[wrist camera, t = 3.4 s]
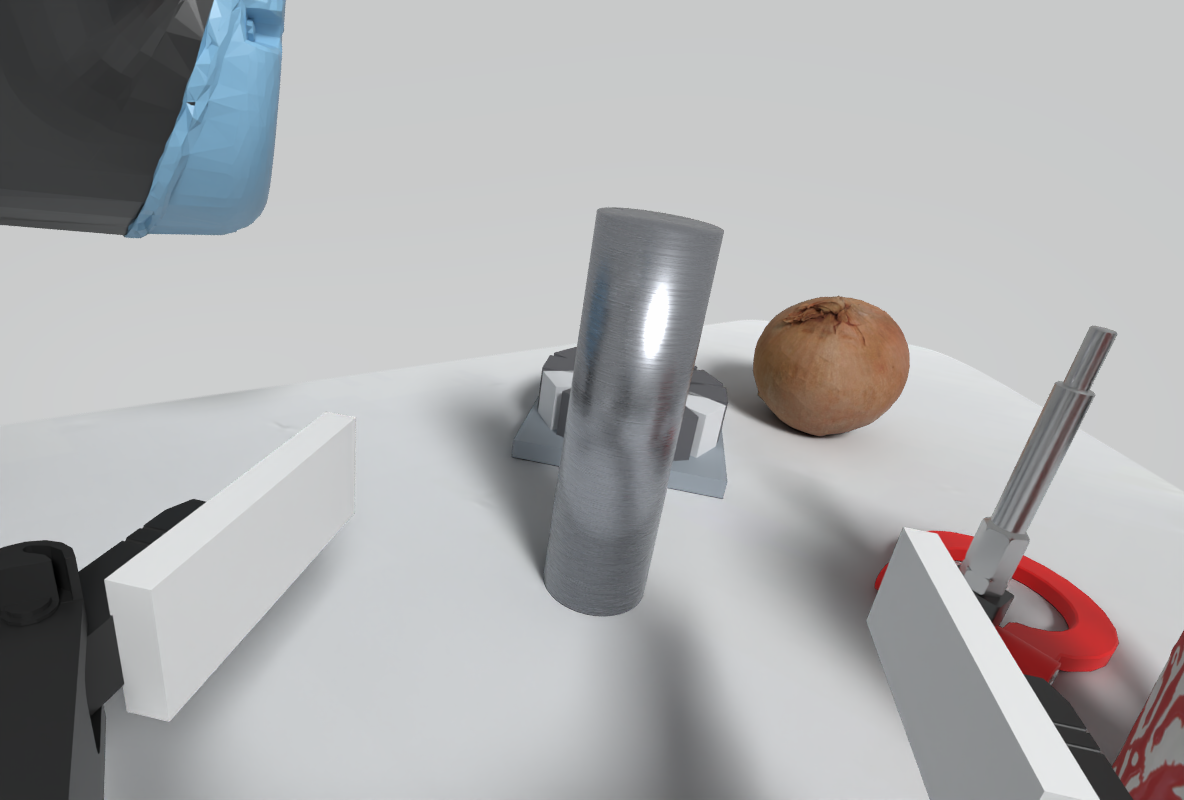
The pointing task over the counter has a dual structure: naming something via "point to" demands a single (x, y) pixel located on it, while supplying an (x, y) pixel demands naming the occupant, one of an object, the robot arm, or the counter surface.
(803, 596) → the counter surface
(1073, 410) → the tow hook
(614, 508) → the steel rod
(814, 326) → the onion
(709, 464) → the chuck
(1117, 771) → the mug
